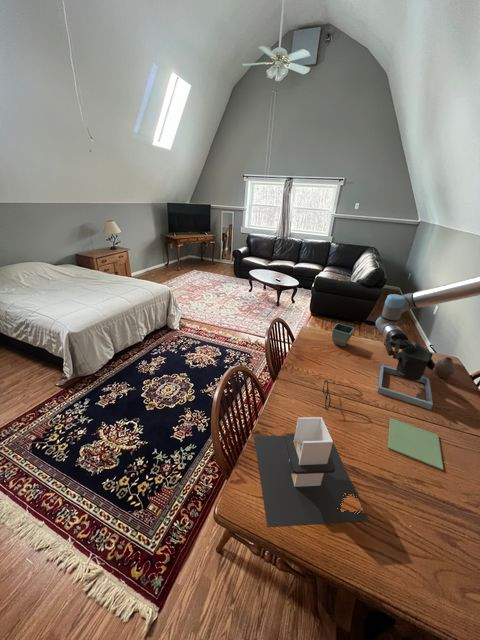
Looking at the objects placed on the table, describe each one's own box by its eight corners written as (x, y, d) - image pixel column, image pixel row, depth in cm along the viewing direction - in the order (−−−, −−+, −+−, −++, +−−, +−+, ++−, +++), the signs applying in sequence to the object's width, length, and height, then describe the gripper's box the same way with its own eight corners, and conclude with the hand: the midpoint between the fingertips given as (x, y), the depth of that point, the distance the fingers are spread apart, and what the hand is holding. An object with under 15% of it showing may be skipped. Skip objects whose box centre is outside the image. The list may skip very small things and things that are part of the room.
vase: (449, 382, 113) (458, 365, 109) (430, 375, 117) (438, 358, 113) (452, 375, 118) (460, 358, 114) (433, 368, 122) (440, 352, 118)
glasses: (322, 387, 107) (325, 377, 104) (360, 396, 105) (364, 386, 103) (325, 413, 94) (330, 402, 92) (369, 424, 92) (374, 413, 90)
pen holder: (392, 365, 111) (399, 344, 106) (417, 369, 109) (425, 348, 104) (397, 378, 103) (405, 356, 98) (425, 383, 100) (434, 361, 96)
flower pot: (328, 344, 138) (332, 328, 134) (334, 337, 145) (337, 322, 141) (346, 349, 134) (350, 334, 130) (350, 342, 140) (354, 327, 136)
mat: (437, 436, 87) (438, 434, 86) (442, 470, 76) (443, 469, 75) (389, 418, 93) (390, 417, 92) (387, 448, 81) (388, 447, 81)
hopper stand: (254, 436, 83) (257, 395, 76) (329, 434, 85) (339, 394, 78) (267, 526, 61) (274, 480, 54) (369, 520, 63) (388, 475, 56)
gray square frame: (427, 383, 112) (429, 378, 111) (430, 410, 98) (433, 404, 96) (380, 369, 120) (381, 364, 118) (376, 392, 105) (378, 387, 104)
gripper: (417, 346, 119) (446, 377, 99) (368, 341, 121) (386, 371, 101) (423, 331, 116) (454, 360, 96) (372, 327, 118) (392, 354, 98)
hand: (419, 365), depth 98 cm, fingers closed on pen holder, 9 cm apart
